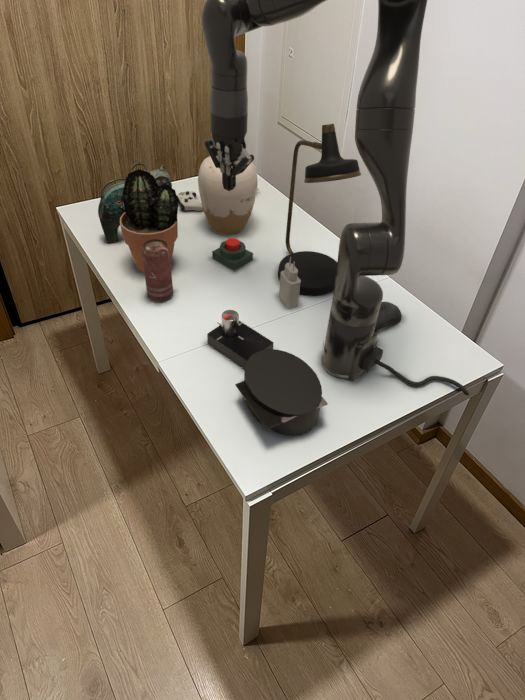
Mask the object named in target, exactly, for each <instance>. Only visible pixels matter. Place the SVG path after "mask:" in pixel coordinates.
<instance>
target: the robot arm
mask: <svg viewBox="0 0 525 700" xmlns="http://www.w3.org/2000/svg"><path fill="white" fill-rule="evenodd" d="M326 1H327V0H205V1H204V4H203V7H202V10H201V29H202V33H203V37H204V42H205V45H206V51H207V55H208V57H209V61H210V94H209V105H210V106H209V108H210V112H209V113H210V132H211V134H212V136H211V139H207V140H205V141H204V145H205V148H206V150H207V152H208V154H209V156H211V159H212V161H213V163H214V165H215V167H216V168H220V171H221V173H222V184H223V188H224V189H225V190H227V191H231V190H233V189H234V188H235V186H236V175H238V174H240V173H243V172H244V170H245V169H246V168H247V167H248V166H249V165H250V163H251V162H252V163H253V161H254V160H255V156H254V154H249V152H248V151H247V149H246V148H247V143H246V139H245V138H246V136H247V133H248V116H249V115H248V111H249V95H248V94H249V93H248V58H247V56H246V54H245V52H243V51H241V50H238V49H237V47H236V40H235V39H236V37H237V36H241V35H244V34H246V33H249V32H253V31H255V30H258V29H260V28H263V27H272V26H275V25H278V24H279V25H280V24H283V23H286V22H290V21H293V20H295V19H298V18H300V17H302V16H305V15H307V14H308V13H310V12H312V11H313V10H314V9H316V8H317V7H318V6H319V5H322V4H323V3H325V2H326ZM377 1H378V3H377V4H378V8H377V10H378V12H377V29H376V30H377V32H376V39H375V45H374V48H373V52H372V55H371V58H370V60H369V63H368V65H367V68H366V70H365V73H364V75H363V78H362V81H361V84H360V86H359V90H358V95H357V101H356V108H355V109H356V111H355V127H354V129H355V130H354V142H355V145H356V149H357V152H358V154H359V156H360V158H361V160H362V162H363V164H364V166H365V167H366V169H367V171H368V173H369V175H370V176H371V178H372V180H373V182H374V184H375V187H376V191H377V192H378V195H379V200H380V206H381V222H380V221H379V222H377V221H376V222H350V223H347V224H346V225H345V226H344V227H343V229H342V230H341V234H340V238H339V243H338V251H337V260H336V261H337V269H336V275H335V285H334V291H333V294H332V300H331V306H330V311H329V318H328V322H327V328H326V334H325V340H324V341H323V342H322V349H323V350H322V355H321V360H320V361H321V365H322V367H323V369H324V370H325V371H326V372H327V373H328V374H329V375H331V376H333V377H335V378H338V379H343V380H344V379H345V380H349V381H351V382H354V381H355V380H356V379H357V378H359V377H360V376H361V375H363V373H364V372H366V373H369V371H371V370H372V369H373V368H374V367H375V366H376V365H378V366H379V367H381V368H383V369H384V370H386V371H388V372H390V373H391V374H392V375H393V376H395V377H396V378H398V379H399V380H400V381H402V382H403V383H405V384H407V385H409V386H412V387H423V386H425V385H426V384H428V383H430V382H432V381H440V382H445V383H448V384H450V385H453V386H455V387H456V388H457V389H459V390H460V391H461V392H462V393H463V394H464V395H465V396H470V392H469V390H467V389H466V387H465V386H464V385H463V384H461V383H460V382H458V381H456V380H454V379H452V378H449V377H445V376H440V375H431V376H428V377H426V378H424V379H423V380H421V381H414V380H413V381H412V380H410V379H408V377H406V376H404V375H403V374H401V373H400V372H398V371H397V370H396V369H395V368H393V367H392V366H390V365H389V364H386V363H385V362H383V361H381V360H382V357H383V353H384V349H382V348H381V347H379V346H377V345H376V344H375V342H376V338H378V333H377V332H374V330H375V326H376V322H377V318H378V314H379V310H380V306H381V303H382V302H383V299H384V291H383V288H382V286H381V285H380V284H379V283H378V282H377V281H376V280H374V279H373V278H371V277H369V276H373V277H374V276H392V275H395V274H397V273H398V272H399V270H401V267H402V265H403V261H404V258H405V257H404V256H405V249H406V248H405V247H406V224H407V222H406V221H407V187H408V176H409V175H408V174H409V165H410V158H411V156H410V155H411V149H412V140H413V133H414V126H415V125H414V122H415V114H416V99H417V87H418V77H419V66H420V54H421V53H420V51H421V40H422V32H423V26H424V21H425V17H426V16H425V15H426V10H427V5H428V0H377ZM216 156H218V159H217V157H216ZM240 156H241V157H240Z"/></svg>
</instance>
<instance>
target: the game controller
mask: <svg viewBox="0 0 525 700" xmlns="http://www.w3.org/2000/svg"><path fill="white" fill-rule="evenodd" d="M176 195H177V199H178V203H179V206H181V209H180V210H181V211H183V212H186V211H189V210H191V211H197V212H201V211H204V210H203V207H202V203H201V201H200V200H197V193H196V191H194V190H186V191H181V192H179V193H176Z"/></svg>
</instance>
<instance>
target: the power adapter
mask: <svg viewBox="0 0 525 700" xmlns="http://www.w3.org/2000/svg"><path fill="white" fill-rule="evenodd" d="M294 264H295V261H294V263H293V264H292V263H291V257H290V262H289V263H286V265H285V270H284V271H281V275H280V281H279V287H278V299H279V300H280V302H282V304H283V305H284V308H286V309H293V308H297V307H298V306H299V299H300V294H299V291H300V283H301V280H300V279H299V278H298V276H297V275H298V269H297V268H296V267H295V266H294Z"/></svg>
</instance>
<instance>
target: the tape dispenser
mask: <svg viewBox="0 0 525 700" xmlns="http://www.w3.org/2000/svg"><path fill="white" fill-rule="evenodd" d="M234 386H235V387H236V388H237V390H238V391H239V393H240V394H241V396H242V397H243V398H244V401H245V404H246V407H247V409H248V410H249V412H250V413H251V415H252V416H253V417H254V418H255V420H256V421H257V422H259V423H260V424H261V425H262V426H263V427H264V428H265V430H266V431H268V430H269V431H272V432H274V433H276V434H279V435H282V436H289V437H297V436H298V437H299V436H302V435H305V434H308V433H309V432H310V431H313V429H314V428H315V426H316V425H317V423H318V421H319V415H320V408H322V407H324V406H327V405H329V403H328V402H327V400H326V399H325V398H324V397H323V395H322V394H323V387H322V384H321V380H320V379H319V377H318V375H317V373H316V372H315V371H314V370H313V368H312V367H311V366H310V364H308V363H307V362H306V361H304V360H303V359H302V358H300V357H298V356H296V355H295V354H293V353H291V352H288V351H285V350H281V349H274V348H273V349H267V350H262V351H258V352H256V353H255V354H253V355H252V356H251V357H250V358H249V359H248V361H247V362H246V365H245V369H244V379H243V380H242V381H240V382H237V383H235V384H234Z"/></svg>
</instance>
